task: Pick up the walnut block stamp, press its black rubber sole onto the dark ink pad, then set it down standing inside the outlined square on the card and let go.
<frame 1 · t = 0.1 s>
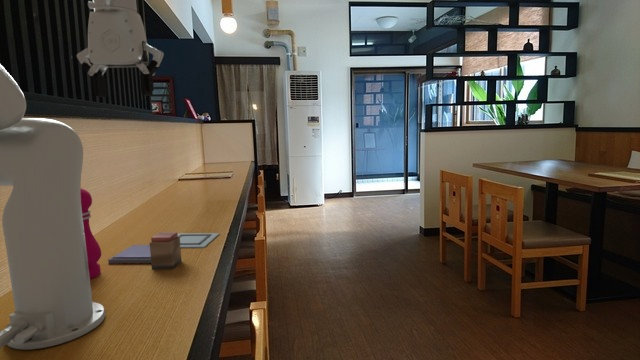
hand: (124, 96, 76), 37 cm above the counter, tool pointing down, fingers open, 9 cm apart
stamp: (167, 265, 83), on the counter
print card: (190, 240, 101), on the counter
ink pad: (141, 256, 90), on the counter
pepper mill: (83, 276, 78), on the counter
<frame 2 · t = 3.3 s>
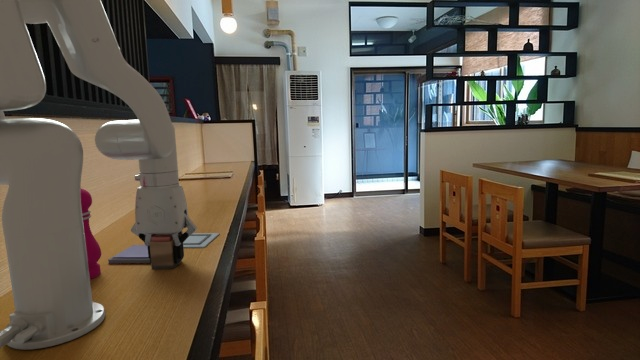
hand: (166, 260, 83), 1 cm above the counter, tool pointing down, fingers closed on stamp, 4 cm apart
stamp: (167, 265, 83), on the counter, touching gripper
everything else where it was.
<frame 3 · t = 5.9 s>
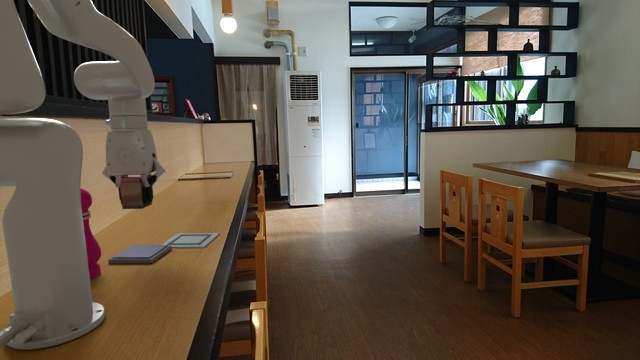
hand: (137, 202, 88), 13 cm above the counter, tool pointing down, fingers closed on stamp, 4 cm apart
stamp: (137, 206, 88), point 12 cm above the counter, touching gripper
everything else where it was.
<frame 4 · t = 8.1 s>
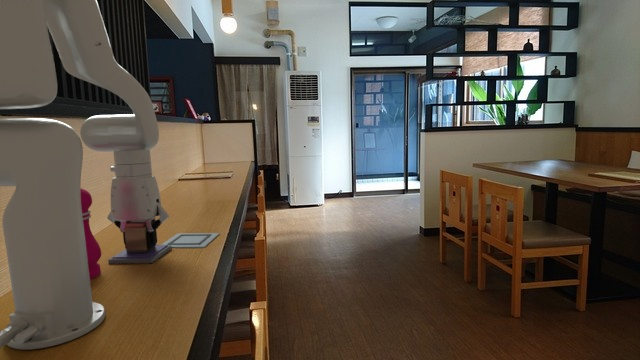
hand: (141, 246, 90), 2 cm above the counter, tool pointing down, fingers closed on stamp, 4 cm apart
stamp: (141, 250, 90), point 1 cm above the counter, touching gripper, ink pad
everything else where it was.
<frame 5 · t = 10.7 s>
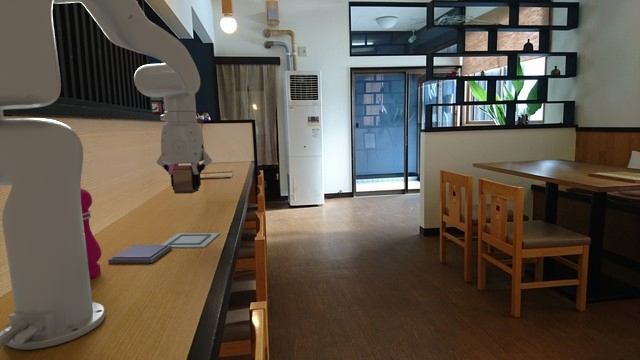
hand: (186, 188, 99), 14 cm above the counter, tool pointing down, fingers closed on stamp, 4 cm apart
stamp: (186, 192, 99), point 13 cm above the counter, touching gripper
everything else where it was.
when the fingers open (2 cm above the counter, at t = 13.2 s): stamp stays where it is, resting on print card.
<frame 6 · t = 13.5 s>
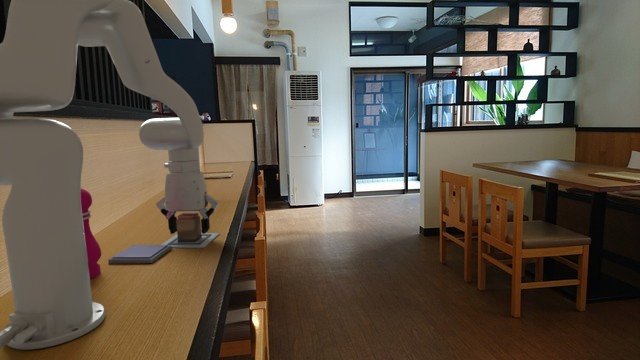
hand: (189, 232, 101), 2 cm above the counter, tool pointing down, fingers open, 8 cm apart
stamp: (190, 239, 101), resting on print card
everything else where it was.
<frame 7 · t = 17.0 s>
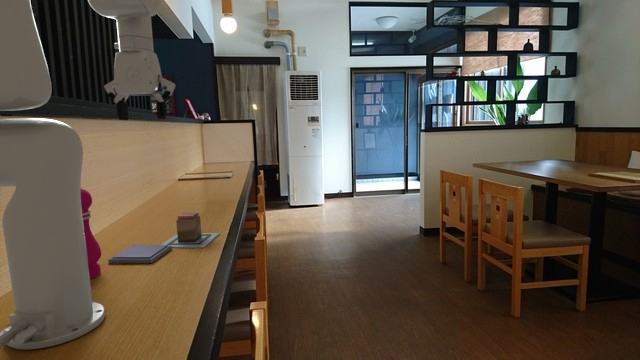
hand: (142, 119, 93), 32 cm above the counter, tool pointing down, fingers open, 9 cm apart
nothing on the counter moved.
at the end: stamp 0.1 cm off-centre on the print card, point 0.3 cm above the print card's base; stamp tilted 0°; the gripper is holding nothing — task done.
